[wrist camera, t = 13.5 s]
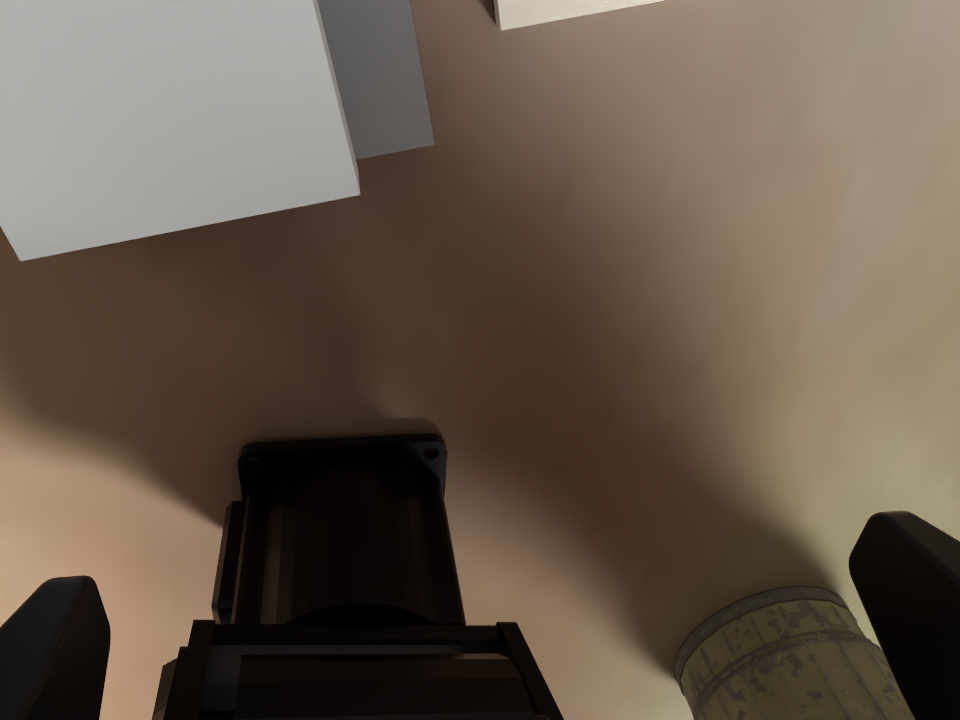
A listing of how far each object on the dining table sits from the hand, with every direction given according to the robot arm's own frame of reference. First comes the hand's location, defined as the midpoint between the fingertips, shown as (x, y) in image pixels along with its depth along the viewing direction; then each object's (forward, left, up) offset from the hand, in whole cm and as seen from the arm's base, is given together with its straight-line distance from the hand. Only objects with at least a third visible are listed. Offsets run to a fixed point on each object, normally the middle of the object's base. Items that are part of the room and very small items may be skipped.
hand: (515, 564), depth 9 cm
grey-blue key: (+5, -4, -10) cm, 12 cm away
